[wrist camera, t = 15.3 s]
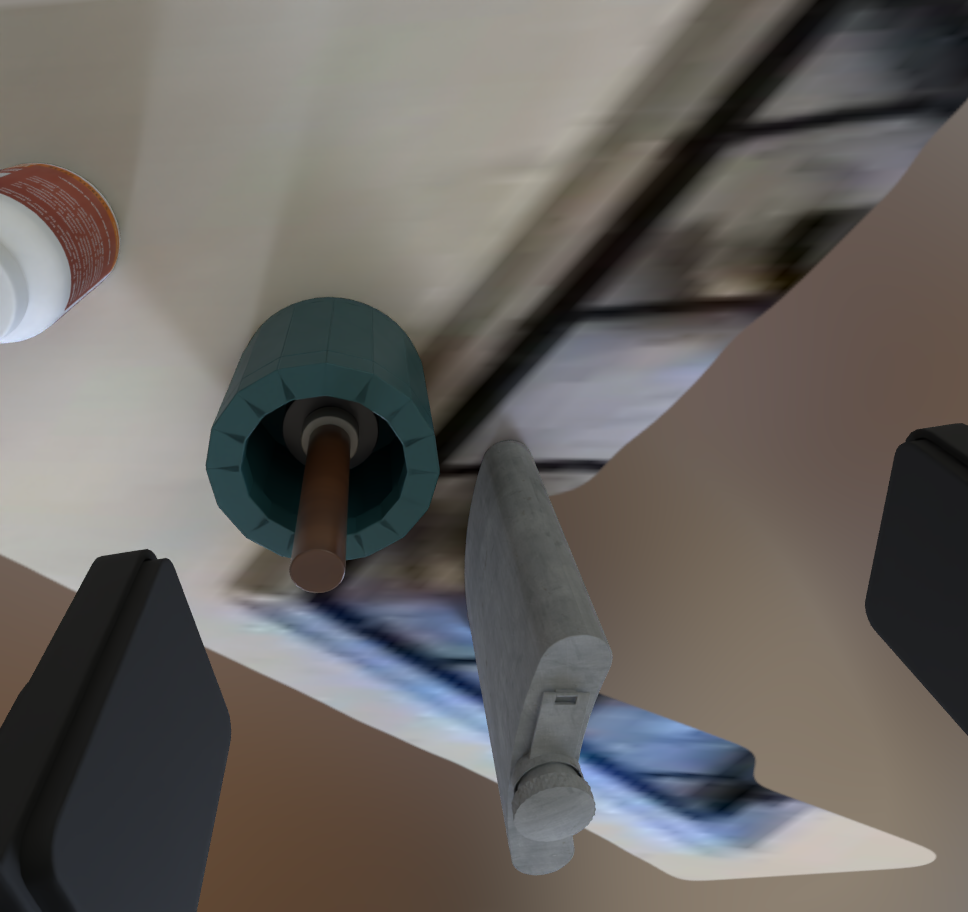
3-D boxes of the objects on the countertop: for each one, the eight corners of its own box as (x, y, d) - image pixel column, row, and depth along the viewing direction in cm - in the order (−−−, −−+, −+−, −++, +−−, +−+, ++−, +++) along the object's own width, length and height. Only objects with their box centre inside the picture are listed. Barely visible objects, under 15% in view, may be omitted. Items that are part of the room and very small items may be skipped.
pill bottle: (30, 130, 34) (-103, 160, 25) (149, 224, 37) (71, 284, 27) (-39, 231, 36) (-190, 296, 26) (80, 314, 38) (-17, 401, 29)
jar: (219, 310, 39) (177, 383, 31) (410, 285, 40) (422, 349, 31) (265, 474, 44) (240, 577, 36) (434, 449, 45) (450, 544, 36)
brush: (281, 357, 40) (234, 528, 26) (370, 345, 41) (371, 507, 26) (300, 435, 42) (266, 632, 28) (384, 423, 43) (392, 611, 28)
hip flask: (512, 637, 53) (582, 922, 36) (456, 640, 52) (499, 931, 35) (534, 440, 46) (637, 677, 28) (469, 440, 45) (533, 683, 28)
